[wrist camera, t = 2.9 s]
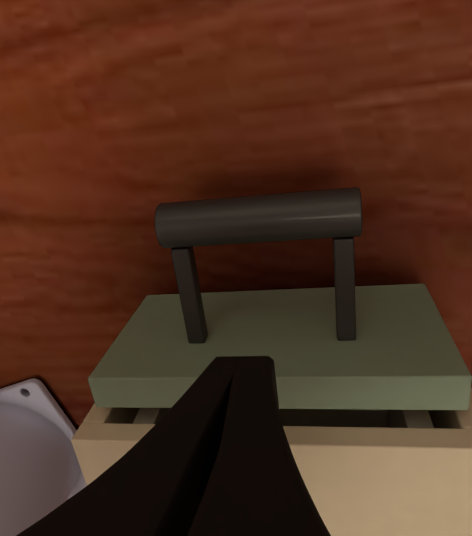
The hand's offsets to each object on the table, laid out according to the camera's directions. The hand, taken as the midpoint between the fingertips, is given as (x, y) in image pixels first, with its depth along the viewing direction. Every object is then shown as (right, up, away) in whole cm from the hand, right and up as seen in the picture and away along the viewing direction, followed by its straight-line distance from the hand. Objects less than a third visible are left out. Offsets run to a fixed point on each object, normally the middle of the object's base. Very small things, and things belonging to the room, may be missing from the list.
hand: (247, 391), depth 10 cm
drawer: (+2, -2, +10) cm, 10 cm away
